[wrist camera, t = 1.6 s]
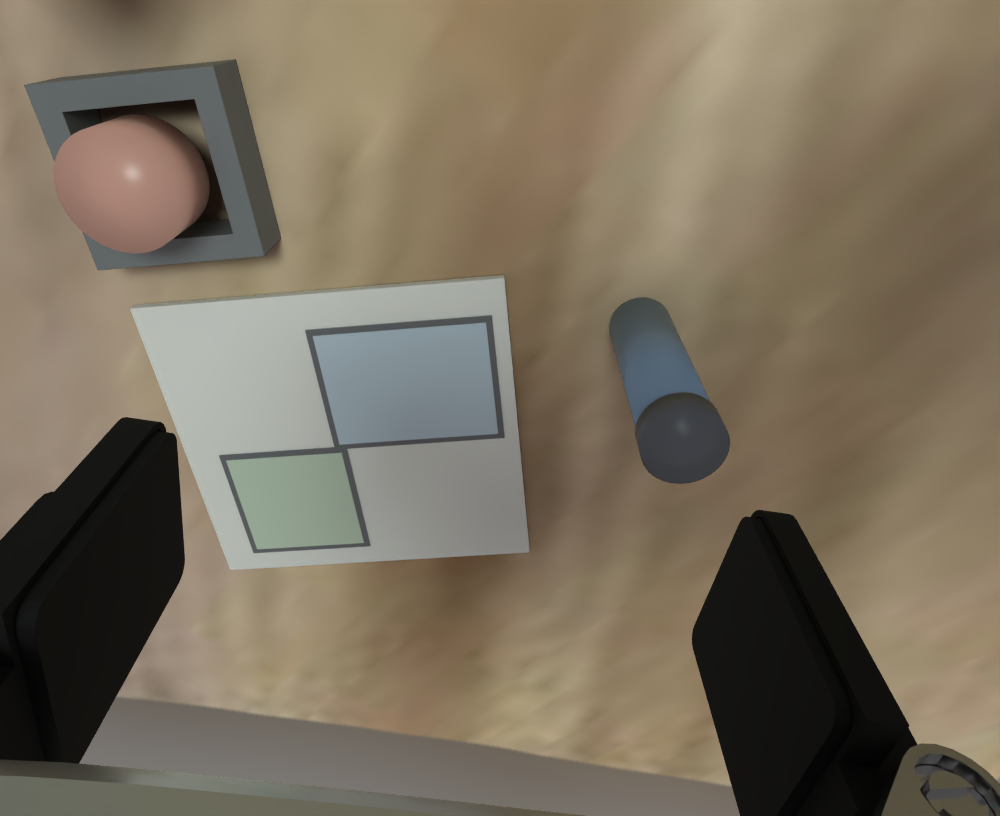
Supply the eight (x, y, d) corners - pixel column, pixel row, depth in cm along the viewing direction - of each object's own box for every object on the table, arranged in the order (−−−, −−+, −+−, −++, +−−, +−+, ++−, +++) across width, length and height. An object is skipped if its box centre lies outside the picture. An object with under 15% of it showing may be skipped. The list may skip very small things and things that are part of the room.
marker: (673, 292, 32) (733, 407, 23) (671, 352, 33) (726, 480, 25) (606, 298, 32) (640, 413, 24) (607, 357, 34) (639, 486, 25)
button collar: (235, 59, 27) (213, 65, 25) (280, 237, 31) (264, 256, 29) (60, 77, 28) (23, 85, 26) (125, 251, 31) (97, 270, 29)
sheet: (504, 274, 32) (503, 279, 31) (529, 547, 40) (529, 553, 39) (134, 305, 33) (128, 309, 32) (232, 565, 41) (229, 571, 40)
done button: (188, 108, 26) (158, 120, 24) (223, 227, 28) (199, 248, 26) (73, 120, 26) (32, 132, 24) (116, 236, 28) (83, 258, 26)
